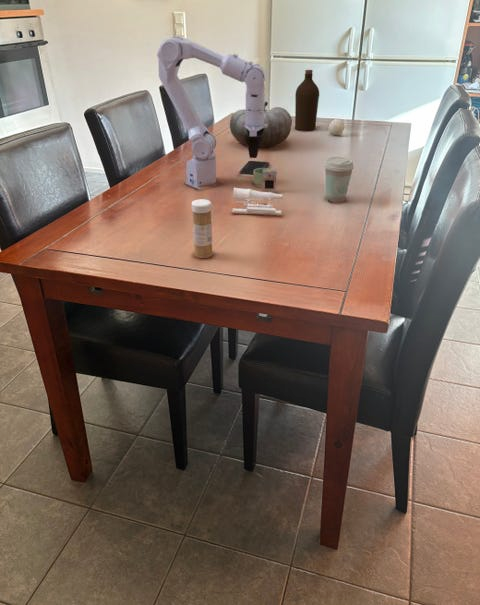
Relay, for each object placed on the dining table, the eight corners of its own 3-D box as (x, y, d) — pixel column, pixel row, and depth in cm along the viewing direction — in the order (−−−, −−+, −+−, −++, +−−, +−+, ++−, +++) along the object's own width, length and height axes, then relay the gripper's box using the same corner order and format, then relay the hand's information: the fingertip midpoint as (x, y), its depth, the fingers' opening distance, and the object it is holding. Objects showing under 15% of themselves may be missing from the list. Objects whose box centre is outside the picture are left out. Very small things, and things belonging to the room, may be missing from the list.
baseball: (343, 133, 228) (344, 117, 225) (343, 137, 222) (345, 121, 218) (327, 132, 229) (329, 117, 225) (327, 136, 223) (329, 120, 219)
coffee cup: (328, 205, 151) (332, 165, 145) (317, 196, 158) (320, 157, 152) (354, 203, 153) (359, 163, 147) (342, 193, 160) (346, 155, 154)
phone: (269, 162, 186) (260, 174, 173) (269, 165, 186) (260, 177, 174) (248, 160, 187) (238, 172, 175) (248, 163, 188) (238, 175, 176)
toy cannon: (281, 219, 147) (280, 212, 141) (233, 217, 148) (231, 209, 143) (283, 194, 148) (283, 186, 143) (236, 192, 150) (234, 184, 145)
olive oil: (297, 132, 230) (301, 72, 217) (290, 127, 239) (293, 68, 226) (319, 131, 232) (324, 71, 219) (312, 125, 241) (316, 68, 228)
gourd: (290, 147, 197) (285, 100, 190) (228, 155, 203) (221, 109, 196) (295, 138, 219) (291, 96, 212) (239, 146, 225) (233, 104, 218)
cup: (262, 189, 164) (263, 175, 162) (249, 184, 168) (249, 170, 166) (277, 184, 168) (277, 171, 165) (263, 180, 172) (263, 166, 170)
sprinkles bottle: (203, 249, 126) (201, 197, 119) (216, 254, 123) (215, 201, 116) (190, 255, 123) (187, 202, 116) (203, 261, 120) (200, 207, 113)
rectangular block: (275, 195, 159) (276, 171, 155) (262, 194, 159) (262, 171, 155) (275, 193, 161) (276, 169, 157) (262, 192, 161) (263, 169, 157)
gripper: (267, 114, 148) (265, 161, 155) (268, 105, 160) (267, 148, 167) (243, 114, 148) (242, 160, 155) (246, 104, 161) (246, 148, 168)
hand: (254, 154), depth 161 cm, fingers open, 7 cm apart
